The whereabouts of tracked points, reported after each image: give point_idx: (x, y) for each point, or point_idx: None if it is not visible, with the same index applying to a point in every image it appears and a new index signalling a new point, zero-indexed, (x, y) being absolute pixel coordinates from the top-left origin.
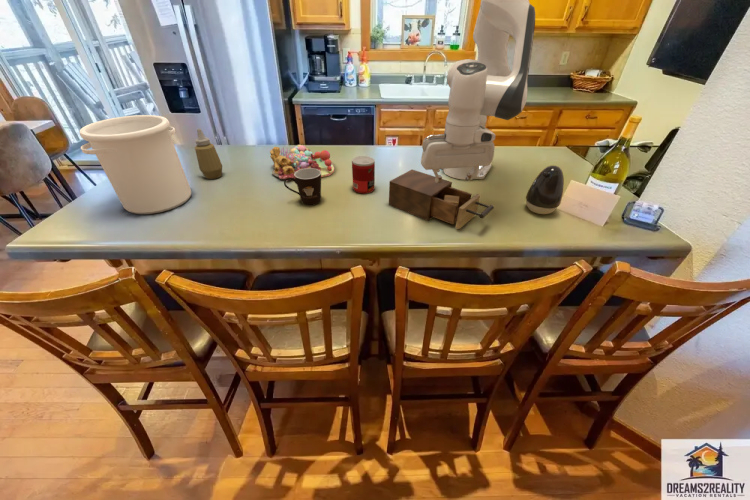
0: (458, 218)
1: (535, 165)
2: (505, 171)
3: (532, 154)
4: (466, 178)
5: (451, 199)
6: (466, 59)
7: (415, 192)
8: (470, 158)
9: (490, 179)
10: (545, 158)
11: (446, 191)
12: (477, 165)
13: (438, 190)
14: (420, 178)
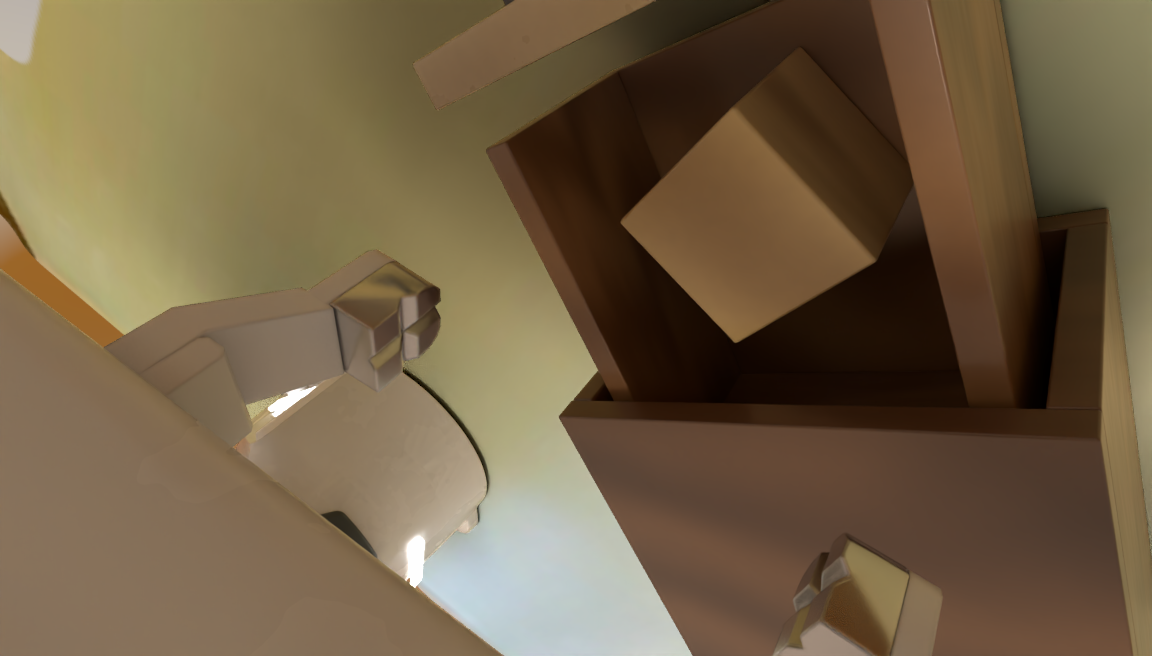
0: None
1: (126, 247)
2: None
3: (131, 308)
4: (425, 323)
5: (747, 230)
6: None
7: (1130, 620)
8: (13, 629)
9: None
10: (93, 257)
11: (661, 373)
12: (82, 365)
13: (829, 435)
14: None
